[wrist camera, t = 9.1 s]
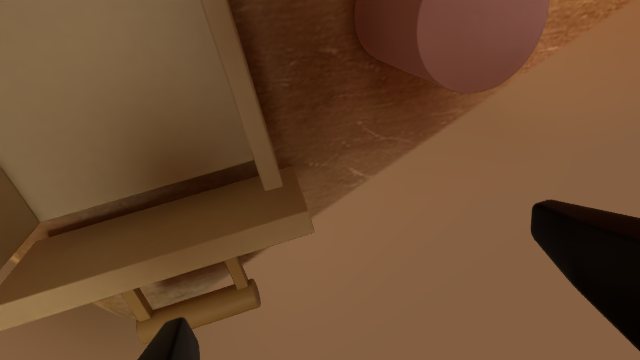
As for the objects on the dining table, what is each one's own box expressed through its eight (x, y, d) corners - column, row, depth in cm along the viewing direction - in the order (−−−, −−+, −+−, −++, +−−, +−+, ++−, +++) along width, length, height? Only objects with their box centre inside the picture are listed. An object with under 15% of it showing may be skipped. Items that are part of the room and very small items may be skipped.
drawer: (316, 250, 23) (336, 308, 18) (94, 321, 21) (61, 400, 17) (219, -89, 14) (214, -125, 10) (-146, -5, 13) (-323, -7, 9)
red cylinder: (447, 51, 20) (544, 74, 14) (362, 74, 19) (422, 109, 13) (441, -53, 18) (555, -81, 11) (345, -30, 17) (409, -45, 11)
